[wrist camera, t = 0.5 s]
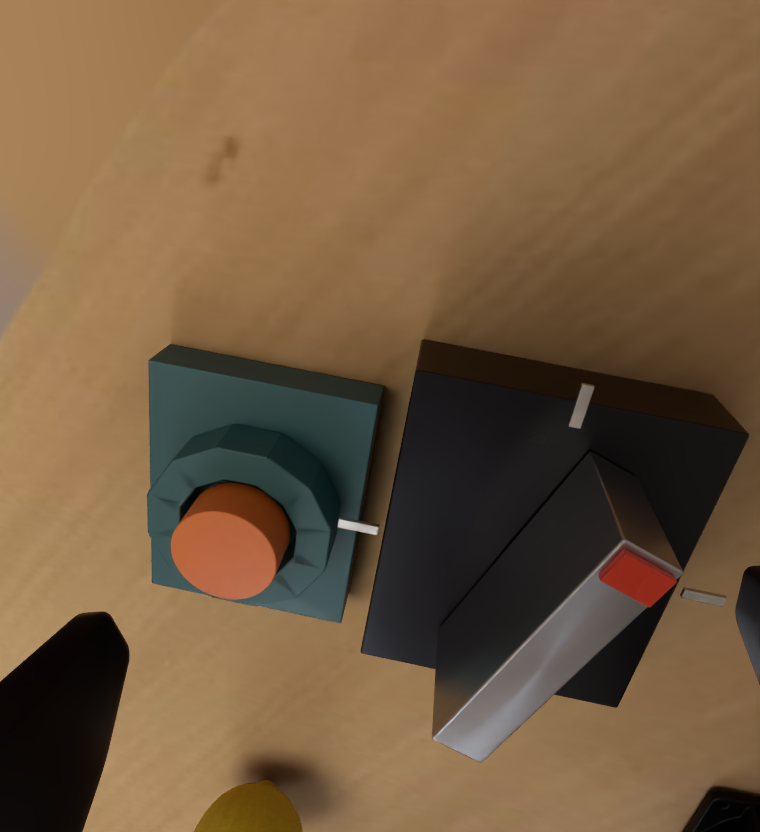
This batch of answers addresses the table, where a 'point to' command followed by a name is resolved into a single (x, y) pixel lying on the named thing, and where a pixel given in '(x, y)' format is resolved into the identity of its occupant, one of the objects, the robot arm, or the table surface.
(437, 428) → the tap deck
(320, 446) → the control block
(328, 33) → the table surface
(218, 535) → the button
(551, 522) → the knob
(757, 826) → the robot arm
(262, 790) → the lemon
